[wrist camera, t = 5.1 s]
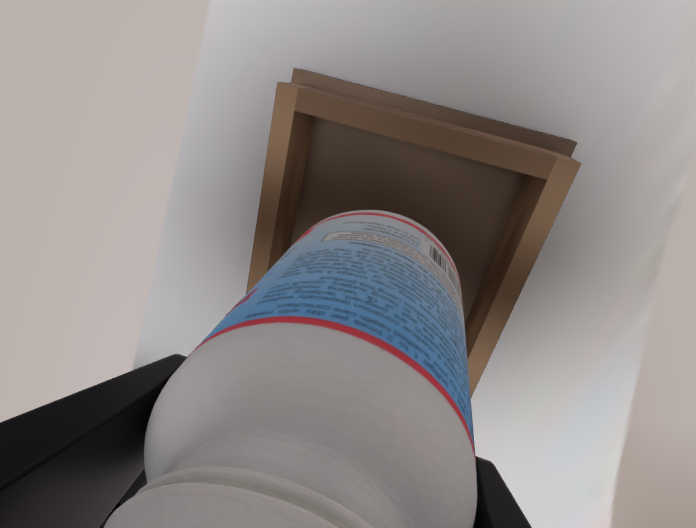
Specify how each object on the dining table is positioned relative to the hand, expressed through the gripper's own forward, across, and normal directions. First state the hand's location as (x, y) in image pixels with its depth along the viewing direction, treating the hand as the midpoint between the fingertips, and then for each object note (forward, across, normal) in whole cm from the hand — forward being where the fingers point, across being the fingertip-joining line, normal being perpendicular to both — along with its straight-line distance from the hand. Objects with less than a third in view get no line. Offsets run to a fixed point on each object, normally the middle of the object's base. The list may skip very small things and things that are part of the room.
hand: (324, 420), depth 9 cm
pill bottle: (+7, 0, 0) cm, 7 cm away
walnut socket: (+13, 0, 0) cm, 13 cm away
